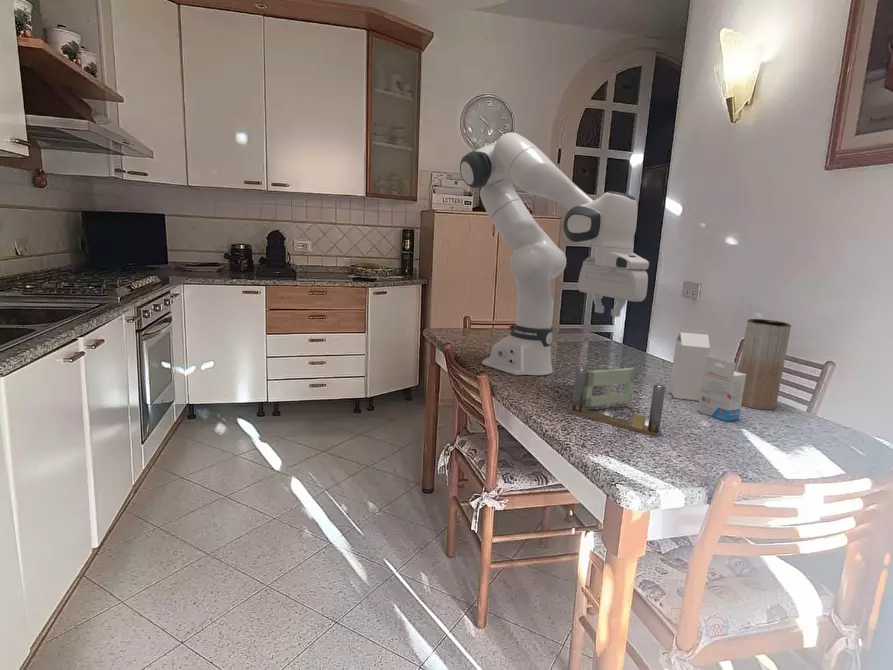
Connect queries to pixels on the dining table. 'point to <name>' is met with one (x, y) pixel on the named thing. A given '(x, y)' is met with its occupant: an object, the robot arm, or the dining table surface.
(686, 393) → the milk carton
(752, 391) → the planter
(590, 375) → the gate
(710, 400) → the ink box
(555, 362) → the dining table surface
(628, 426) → the drawknife
